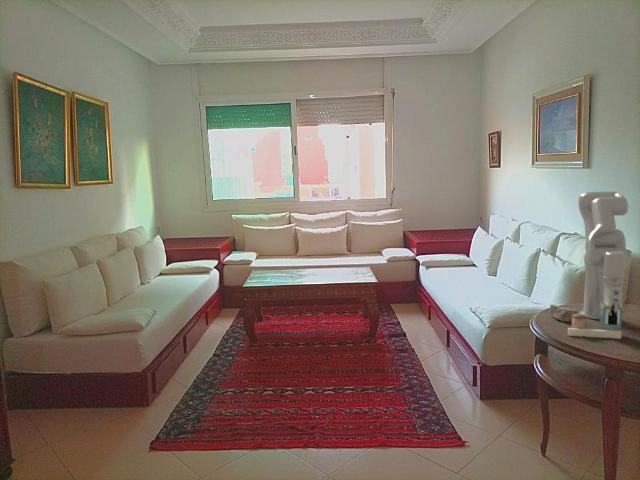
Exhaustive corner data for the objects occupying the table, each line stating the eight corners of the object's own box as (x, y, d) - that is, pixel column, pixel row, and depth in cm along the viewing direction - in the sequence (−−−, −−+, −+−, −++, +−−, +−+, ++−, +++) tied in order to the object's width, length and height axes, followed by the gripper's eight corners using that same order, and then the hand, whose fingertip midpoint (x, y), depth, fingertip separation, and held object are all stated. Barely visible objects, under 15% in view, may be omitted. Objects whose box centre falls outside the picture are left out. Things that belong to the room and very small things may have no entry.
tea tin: (599, 323, 213) (600, 302, 212) (617, 324, 211) (619, 302, 210) (602, 327, 208) (603, 305, 207) (621, 328, 206) (623, 306, 205)
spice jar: (569, 330, 216) (570, 313, 215) (583, 331, 215) (584, 313, 214) (572, 334, 211) (573, 316, 210) (585, 335, 210) (586, 317, 209)
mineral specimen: (546, 319, 232) (546, 306, 231) (551, 315, 237) (551, 302, 236) (574, 324, 223) (575, 311, 222) (579, 320, 229) (580, 307, 228)
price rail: (567, 334, 212) (568, 327, 211) (620, 337, 206) (620, 330, 206) (568, 335, 210) (568, 329, 210) (621, 338, 205) (621, 332, 204)
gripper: (629, 286, 198) (626, 329, 200) (617, 276, 214) (614, 316, 217) (608, 285, 200) (606, 328, 202) (597, 275, 216) (595, 315, 219)
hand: (610, 321), depth 209 cm, fingers closed on tea tin, 5 cm apart
